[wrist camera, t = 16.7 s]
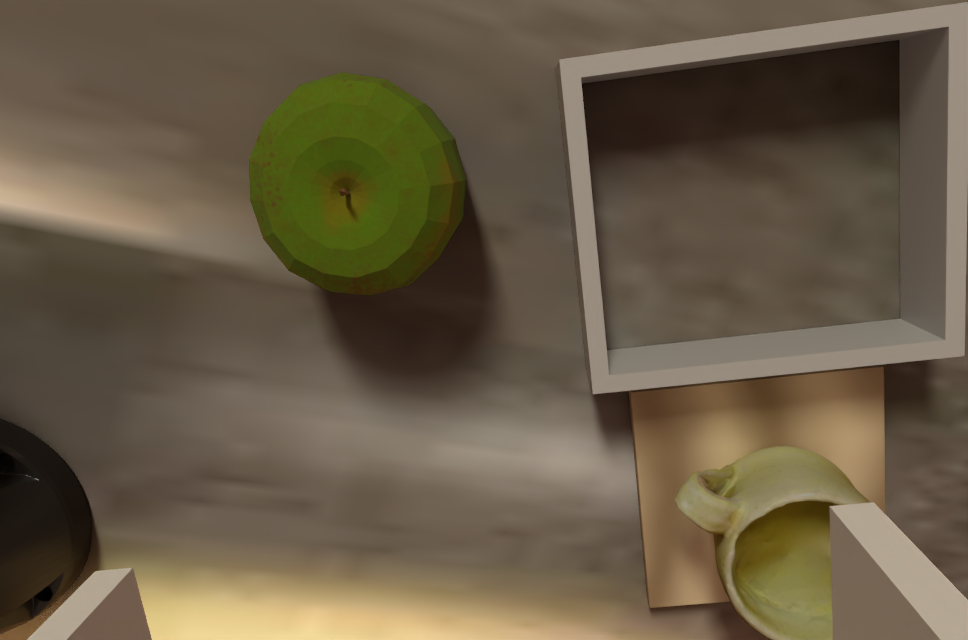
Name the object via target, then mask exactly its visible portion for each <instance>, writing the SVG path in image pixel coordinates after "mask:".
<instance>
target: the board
mask: <svg viewBox="0 0 968 640" xmlns="http://www.w3.org/2000/svg"><path fill="white" fill-rule="evenodd" d="M629 401H630V413H631V424H632V435H633V446H634V458H635V469H636V480H637V491H638V502H639V514H640V525H641V536H642V547H643V559H644V570H645V581H646V592H647V599H648V603H649V607H650V608H654V607H667V606H680V605H692V604H705V603H718V602H730V600H729V598H728V596H727V594H726V592H725V590H724V588H723V585H722V583H721V580H720V577H719V574H718V571H717V565H716V558H715V545H714V537H713V534H710V533H708V532H707V531H705V530H703V529H701V528H700V527H698V526H697V525H696V524H694V523H693V522H692V521H691V520H690V519H689V518H687V517H686V516H685V515H684V514H683V513H682V512H681V511H680V510H679V509H678V508H677V506H676V504H675V497H676V494H677V492H678V490H679V489H680V487H681V486H682V485H683V484H684V483H685V482H686V481H687V479H688V478H689V477H690V475H692V474H693V473H695V472H698V471H705V470H708V469H718V470H721V469H722V468H723V467H724V466H726V465H730V464H732V463H733V462H735V461H737V460H738V459H740V458H742V457H744V456H746V455H748V454H750V453H752V452H755V451H758V450H761V449H765V448H769V447H774V446H791V447H798V448H802V449H805V450H809V451H812V452H814V453H817V454H819V455H821V456H823V457H824V458H826V459H828V460H829V461H831V462H832V463H833V464H835V465H836V466H837V467H838V468H839V469H840V470H841V471H842V472H843V473H844V474H845V475H846V476H847V477H848V478H849V480H850V481H851V483H852V484H853V486H854V487H855V488H856V489H857V490H858V491H859V492H860V493H861V494H862V495H863V496H864V497H865V498H867V499H868V500H869V501H870V502H874V503H875V504H876V505H877V506H878V507H879V508H880V509H881V510H882V512H883V513H884V514H885V444H884V366H882V365H872V366H862V367H853V368H843V369H833V370H823V371H814V372H804V373H794V374H785V375H775V376H765V377H756V378H746V379H736V380H727V381H717V382H707V383H697V384H688V385H678V386H668V387H659V388H649V389H639V390H630V391H629Z"/></svg>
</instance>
